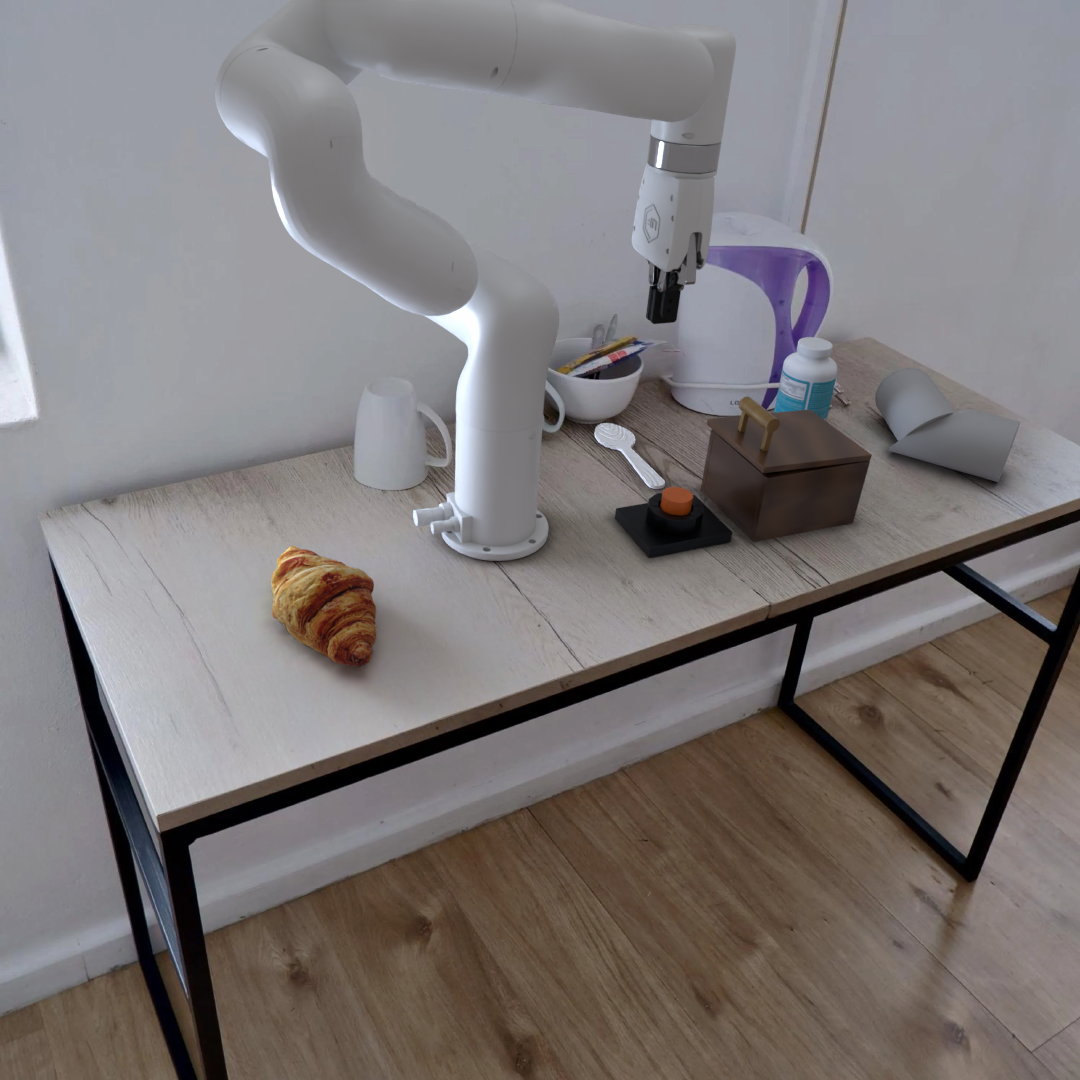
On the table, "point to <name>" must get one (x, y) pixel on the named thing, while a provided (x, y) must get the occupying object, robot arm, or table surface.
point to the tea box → (780, 493)
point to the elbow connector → (942, 426)
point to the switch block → (672, 527)
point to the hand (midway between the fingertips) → (660, 320)
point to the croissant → (325, 605)
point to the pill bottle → (808, 378)
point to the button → (676, 501)
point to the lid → (786, 439)
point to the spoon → (627, 451)
